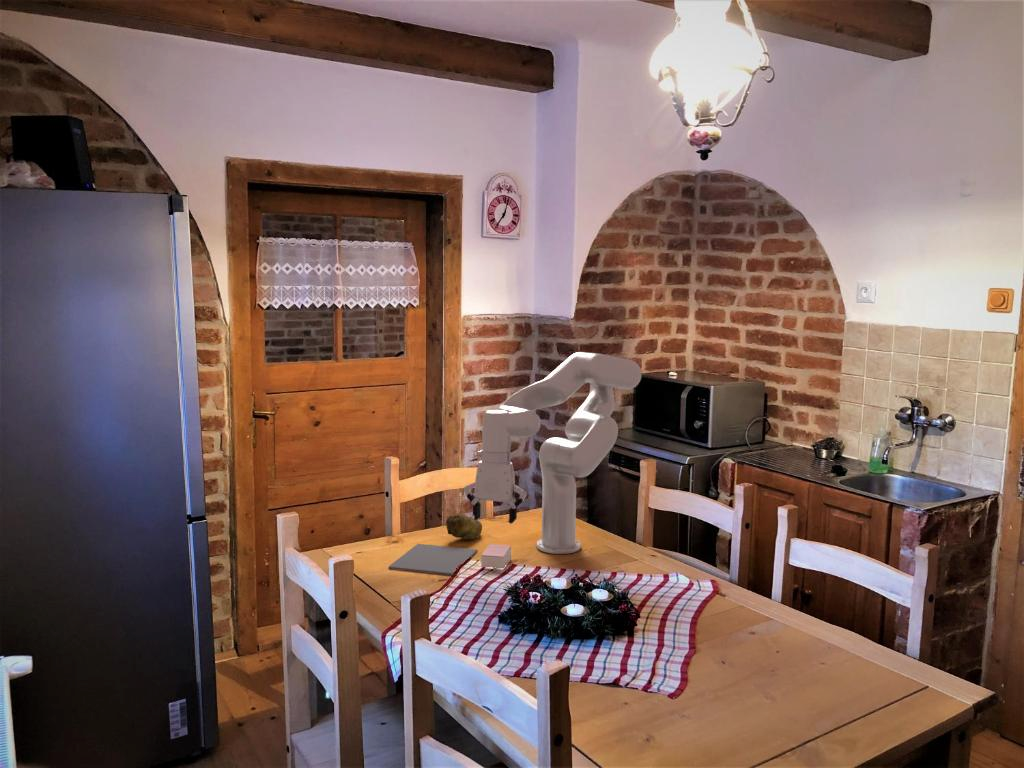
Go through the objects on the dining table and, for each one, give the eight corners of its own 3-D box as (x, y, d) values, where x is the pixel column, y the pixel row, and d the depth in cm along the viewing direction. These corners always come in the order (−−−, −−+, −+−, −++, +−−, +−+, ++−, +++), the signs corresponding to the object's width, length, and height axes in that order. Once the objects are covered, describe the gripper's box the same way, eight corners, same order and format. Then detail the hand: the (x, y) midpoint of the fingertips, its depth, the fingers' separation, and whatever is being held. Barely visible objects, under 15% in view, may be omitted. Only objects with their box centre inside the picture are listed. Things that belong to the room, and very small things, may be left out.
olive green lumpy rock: (491, 539, 242) (491, 512, 241) (453, 546, 235) (452, 519, 234) (477, 531, 249) (477, 506, 248) (439, 538, 242) (439, 512, 241)
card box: (489, 558, 226) (489, 544, 226) (511, 559, 225) (511, 545, 225) (481, 569, 217) (481, 555, 217) (503, 571, 216) (503, 556, 215)
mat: (417, 545, 236) (417, 543, 236) (477, 551, 231) (477, 549, 231) (388, 568, 217) (388, 566, 217) (453, 575, 212) (453, 573, 212)
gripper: (460, 457, 216) (459, 520, 218) (524, 462, 211) (522, 527, 213) (469, 452, 223) (468, 513, 225) (531, 457, 219) (529, 520, 220)
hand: (494, 520), depth 219 cm, fingers open, 9 cm apart
